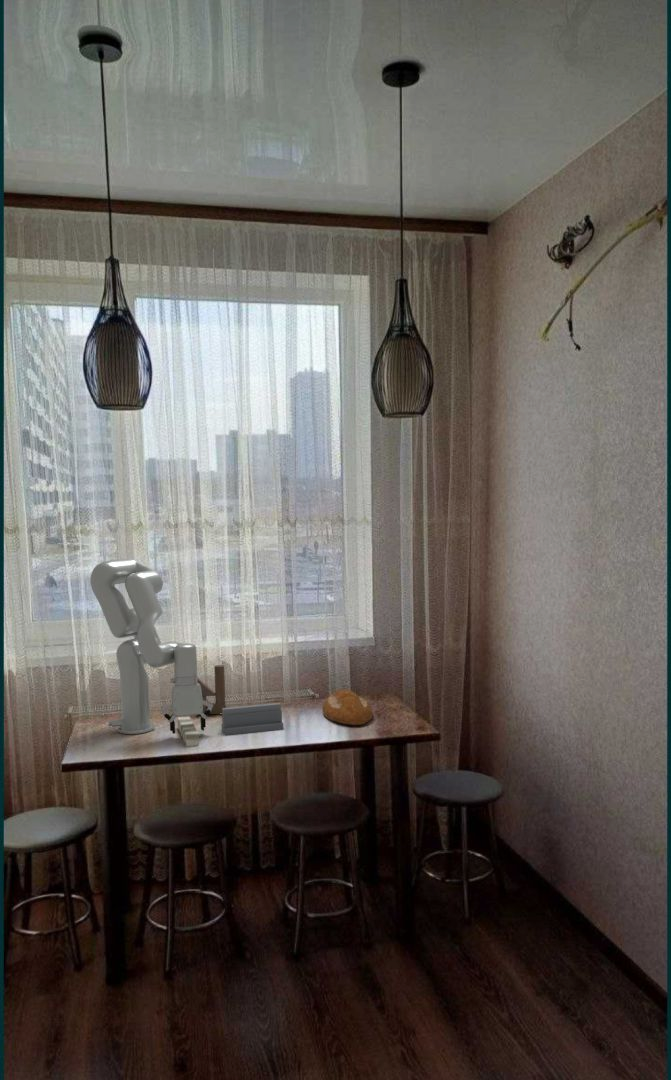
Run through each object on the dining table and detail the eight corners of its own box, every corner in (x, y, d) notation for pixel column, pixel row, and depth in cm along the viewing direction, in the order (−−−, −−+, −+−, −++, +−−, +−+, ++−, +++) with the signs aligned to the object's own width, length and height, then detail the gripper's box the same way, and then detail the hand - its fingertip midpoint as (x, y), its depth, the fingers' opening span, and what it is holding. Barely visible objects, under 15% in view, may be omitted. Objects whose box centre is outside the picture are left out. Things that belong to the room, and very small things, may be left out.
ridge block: (225, 735, 285) (224, 711, 285) (221, 729, 292) (220, 706, 292) (283, 729, 291) (282, 706, 290) (278, 723, 298) (277, 701, 298)
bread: (361, 703, 326) (360, 680, 326) (381, 726, 292) (381, 701, 291) (316, 706, 324) (315, 683, 323) (331, 730, 289) (330, 704, 288)
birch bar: (199, 745, 274) (198, 733, 274) (186, 747, 273) (186, 734, 273) (189, 727, 297) (189, 716, 297) (177, 729, 296) (177, 717, 296)
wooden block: (196, 713, 316) (195, 665, 315) (226, 712, 317) (224, 664, 316) (196, 716, 312) (195, 667, 311) (226, 714, 313) (224, 666, 313)
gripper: (161, 685, 278) (163, 736, 279) (213, 680, 283) (215, 731, 284) (158, 681, 285) (160, 731, 286) (210, 676, 290) (212, 725, 291)
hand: (188, 731), depth 285 cm, fingers open, 9 cm apart
